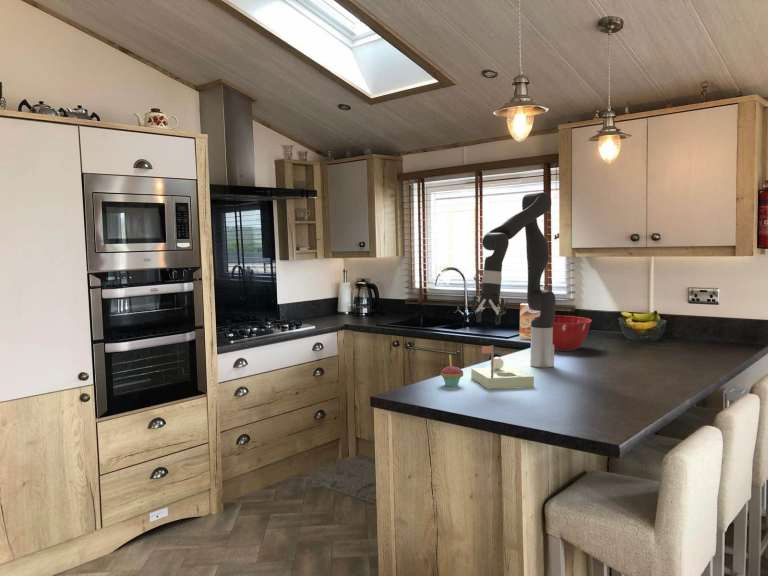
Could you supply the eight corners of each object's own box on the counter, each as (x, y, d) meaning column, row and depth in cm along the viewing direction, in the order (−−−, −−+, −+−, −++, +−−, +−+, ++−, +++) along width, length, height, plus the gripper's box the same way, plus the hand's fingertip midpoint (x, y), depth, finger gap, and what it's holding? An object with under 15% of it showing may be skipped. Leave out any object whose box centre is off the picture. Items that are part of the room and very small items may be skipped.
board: (513, 376, 253) (514, 337, 251) (533, 387, 234) (534, 344, 233) (466, 378, 249) (466, 338, 248) (482, 389, 230) (483, 346, 229)
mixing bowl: (598, 354, 303) (599, 322, 302) (539, 353, 304) (540, 322, 303) (581, 344, 331) (582, 315, 330) (527, 344, 332) (527, 315, 331)
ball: (500, 368, 249) (500, 355, 249) (505, 370, 244) (505, 357, 244) (488, 368, 248) (488, 356, 248) (493, 371, 243) (493, 358, 243)
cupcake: (436, 383, 240) (437, 352, 239) (456, 381, 243) (457, 351, 242) (447, 388, 232) (447, 356, 231) (467, 386, 235) (467, 354, 234)
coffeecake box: (519, 339, 350) (519, 304, 348) (520, 337, 356) (520, 303, 355) (546, 340, 345) (547, 305, 344) (547, 338, 352) (548, 304, 351)
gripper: (512, 284, 248) (508, 325, 248) (481, 282, 257) (477, 321, 257) (502, 283, 242) (498, 324, 242) (471, 280, 252) (467, 321, 252)
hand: (487, 323), depth 250 cm, fingers open, 8 cm apart
